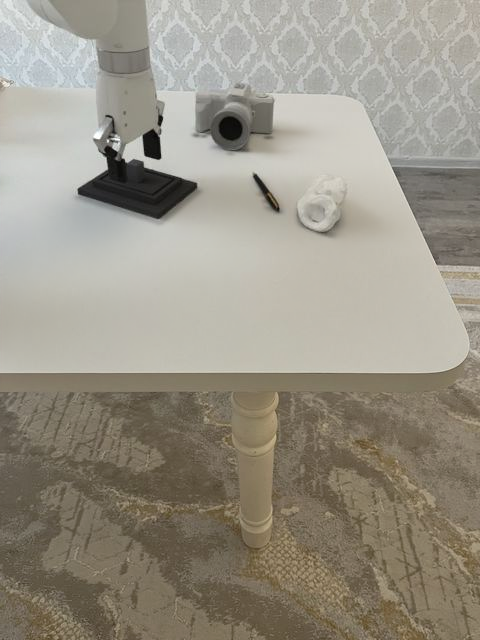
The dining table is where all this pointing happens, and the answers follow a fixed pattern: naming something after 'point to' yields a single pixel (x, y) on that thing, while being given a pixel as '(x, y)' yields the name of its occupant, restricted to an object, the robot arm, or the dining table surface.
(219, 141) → the digital camera
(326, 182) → the white hollow lump
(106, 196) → the base pad
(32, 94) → the dining table surface
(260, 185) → the fountain pen
